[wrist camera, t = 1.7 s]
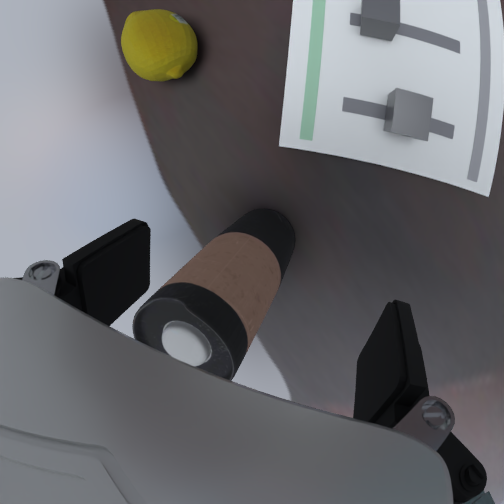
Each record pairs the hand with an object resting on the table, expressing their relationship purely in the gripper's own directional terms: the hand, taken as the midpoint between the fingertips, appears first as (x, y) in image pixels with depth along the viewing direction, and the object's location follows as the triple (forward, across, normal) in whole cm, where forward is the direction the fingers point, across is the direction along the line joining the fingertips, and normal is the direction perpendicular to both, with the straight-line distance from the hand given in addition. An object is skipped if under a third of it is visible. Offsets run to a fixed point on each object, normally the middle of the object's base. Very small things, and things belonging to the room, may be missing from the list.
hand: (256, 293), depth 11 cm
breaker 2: (+19, -6, -9) cm, 22 cm away
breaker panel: (+23, -6, -18) cm, 29 cm away
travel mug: (+23, +4, +8) cm, 25 cm away
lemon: (+23, +19, -12) cm, 33 cm away
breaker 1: (+19, -3, -18) cm, 26 cm away
